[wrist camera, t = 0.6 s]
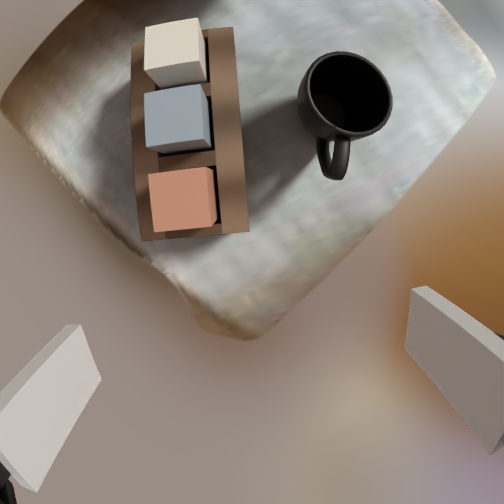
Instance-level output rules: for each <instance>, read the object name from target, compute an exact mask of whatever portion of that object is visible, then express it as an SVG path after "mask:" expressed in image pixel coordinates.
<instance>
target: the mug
mask: <svg viewBox="0 0 504 504" xmlns="http://www.w3.org/2000/svg"><path fill="white" fill-rule="evenodd" d="M297 106H298V111H299V115H300V118H301V120H302V123H303V125H304V126H305V127H306V129H307V130H308V131H309V132H311V133H312V134H314V135H316V136H317V142H316V150H317V155H318V159H319V163H320V167H321V170H322V173H323V175H324V176H325V177H327V178H329V179H332V180H342V179H343V178H344V176H345V174H346V171H347V167H348V162H349V155H350V143H351V141H354V140H357V139H360V138H363V137H366V136H369V135H372V134H374V133H375V132H377V131H379V130H380V129H381V128H382V127H383V126H384V125H385V124H386V123H387V121H388V119H389V117H390V115H391V111H392V93H391V89H390V86H389V84H388V82H387V80H386V78H385V77H384V75H383V74H382V72H381V71H380V70H379V69H378V68H377V67H376V66H375V65H374V64H373V63H371V62H370V61H369V60H367V59H366V58H364V57H362V56H359V55H357V54H354V53H350V52H338V51H337V52H332V53H327V54H325V55H323V56H321V57H319V58H318V59H317V60H315V61H314V62H313V63H312V64H311V66H310V67H309V69H308V70H307V72H306V74H305V76H304V77H303V79H302V81H301V84H300V87H299V90H298V99H297ZM330 141H335V143H334V152H333V158H332V161H331V157H330V153H329V142H330Z"/></svg>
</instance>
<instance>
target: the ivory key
mask: <svg viewBox="0 0 504 504" xmlns="http://www.w3.org/2000/svg"><path fill="white" fill-rule="evenodd" d="M144 71H145V72H146V73H147V74H148V75H149V76H150V77H151V78H152V80H153V81H154V82H155V83H156V84H157V85H158V86H159V87H160V89H161V90H164V89H169V88H175V87H181V86H188V85H195V84H203V83H209V82H208V64H207V49H206V46H205V42H204V38H203V35H202V31H201V28H200V24H199V20H198V18H191V19H185V20H179V21H173V22H168V23H163V24H158V25H153V26H149V27H145V48H144Z"/></svg>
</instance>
